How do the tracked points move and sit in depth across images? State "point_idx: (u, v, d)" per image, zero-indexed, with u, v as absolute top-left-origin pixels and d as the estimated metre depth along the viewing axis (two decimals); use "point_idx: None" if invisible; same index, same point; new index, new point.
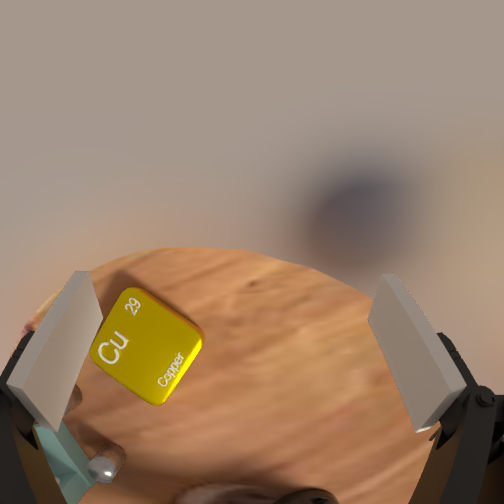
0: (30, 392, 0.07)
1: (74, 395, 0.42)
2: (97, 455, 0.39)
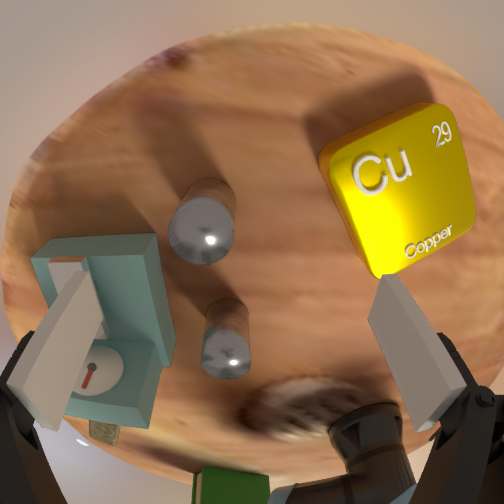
0: (30, 392, 0.07)
1: None
2: (226, 329, 0.30)
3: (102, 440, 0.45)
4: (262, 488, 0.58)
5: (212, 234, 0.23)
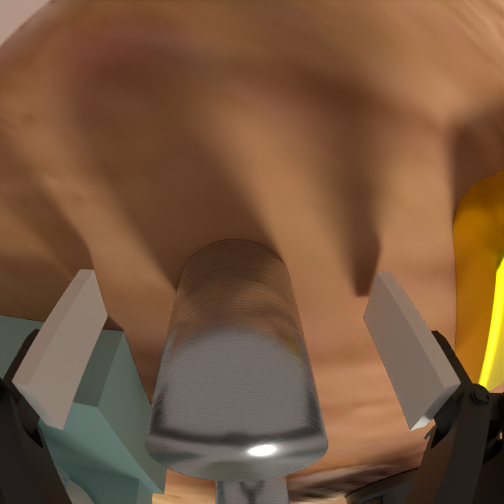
0: (36, 389, 0.07)
1: None
2: (256, 483, 0.15)
3: None
4: None
5: (271, 457, 0.07)
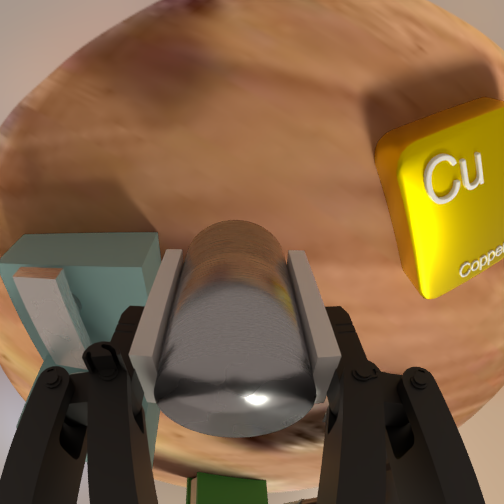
0: (155, 361, 0.09)
1: None
2: None
3: None
4: (260, 494, 0.55)
5: (265, 404, 0.09)
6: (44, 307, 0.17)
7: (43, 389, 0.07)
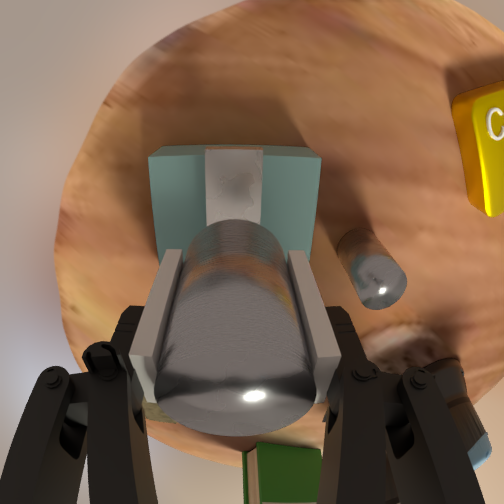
0: (155, 360, 0.09)
1: None
2: (382, 253, 0.28)
3: (161, 419, 0.43)
4: (316, 463, 0.57)
5: (266, 402, 0.09)
6: (234, 182, 0.21)
7: (43, 389, 0.07)
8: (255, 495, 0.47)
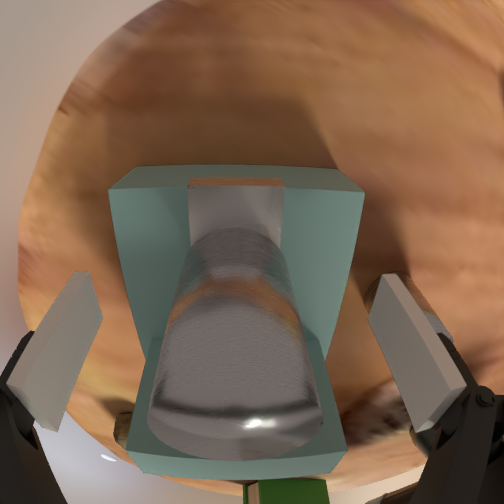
0: (30, 392, 0.07)
1: None
2: (426, 311, 0.20)
3: None
4: (321, 494, 0.50)
5: (268, 431, 0.08)
6: None
7: None
8: None
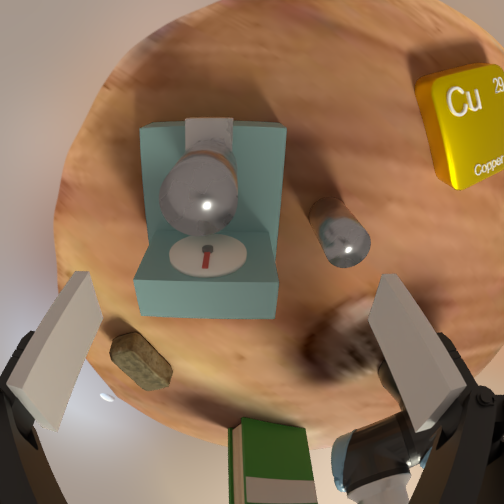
0: (30, 392, 0.07)
1: None
2: (347, 215, 0.31)
3: (153, 386, 0.47)
4: (301, 441, 0.62)
5: (212, 200, 0.19)
6: None
7: None
8: (240, 470, 0.52)
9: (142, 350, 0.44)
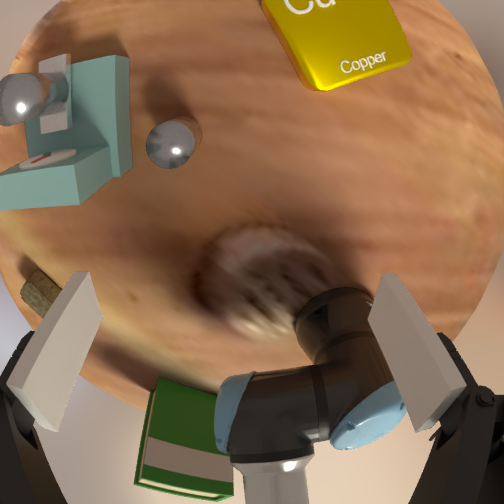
0: (30, 392, 0.07)
1: (56, 93, 0.23)
2: (175, 120, 0.30)
3: None
4: None
5: (14, 97, 0.18)
6: None
7: None
8: None
9: (40, 284, 0.43)
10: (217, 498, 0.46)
